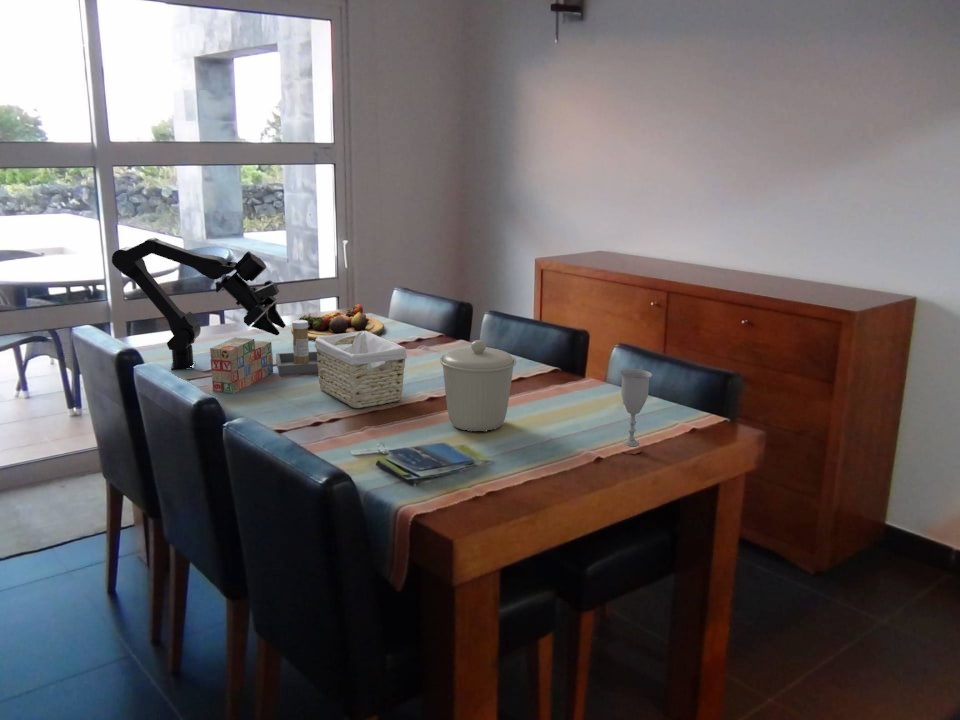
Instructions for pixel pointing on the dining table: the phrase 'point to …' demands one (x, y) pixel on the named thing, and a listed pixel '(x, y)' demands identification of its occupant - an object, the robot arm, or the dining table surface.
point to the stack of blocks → (240, 363)
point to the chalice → (634, 397)
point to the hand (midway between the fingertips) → (281, 330)
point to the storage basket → (361, 368)
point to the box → (289, 368)
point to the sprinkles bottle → (300, 341)
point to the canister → (477, 386)
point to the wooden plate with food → (341, 323)
